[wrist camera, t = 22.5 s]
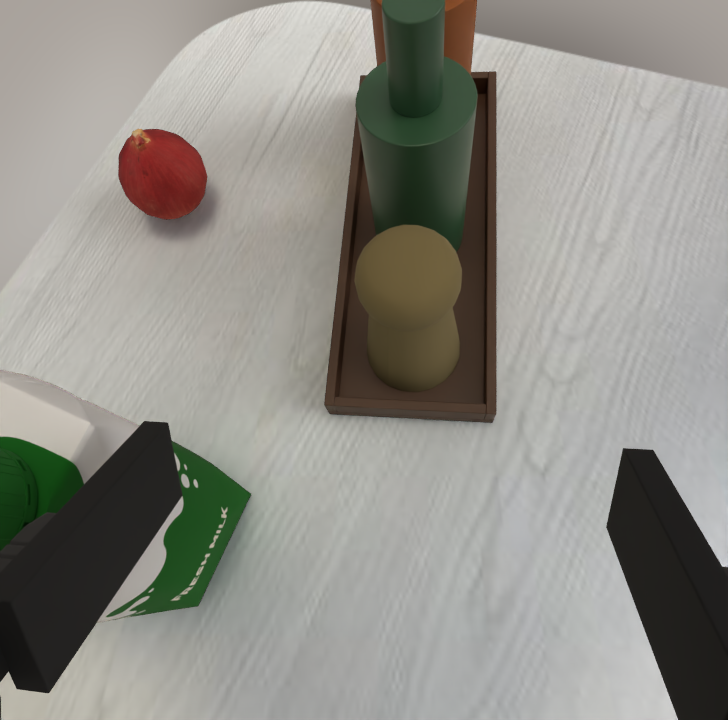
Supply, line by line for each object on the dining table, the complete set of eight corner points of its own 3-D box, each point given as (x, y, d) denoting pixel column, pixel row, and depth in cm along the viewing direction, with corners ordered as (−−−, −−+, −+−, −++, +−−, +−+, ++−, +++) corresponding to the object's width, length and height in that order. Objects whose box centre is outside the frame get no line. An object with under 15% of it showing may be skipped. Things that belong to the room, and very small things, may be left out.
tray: (493, 93, 42) (496, 71, 40) (492, 422, 34) (496, 414, 32) (363, 96, 44) (360, 75, 42) (329, 414, 35) (323, 405, 33)
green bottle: (463, 197, 39) (488, -55, 23) (461, 272, 37) (487, 52, 21) (379, 197, 39) (347, -47, 24) (373, 270, 37) (333, 57, 22)
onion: (136, 229, 42) (72, 156, 34) (170, 169, 43) (117, 88, 36) (201, 248, 40) (149, 178, 33) (234, 186, 42) (192, 106, 34)
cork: (417, 288, 37) (413, 181, 26) (480, 351, 35) (502, 262, 24) (347, 343, 36) (315, 255, 25) (407, 411, 34) (398, 346, 23)
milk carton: (204, 629, 31) (-126, 731, 13) (79, 563, 33) (-364, 566, 15) (271, 485, 34) (78, 391, 15) (150, 431, 36) (-151, 291, 17)
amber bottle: (466, 104, 42) (489, -178, 26) (464, 168, 40) (488, -94, 24) (387, 106, 42) (363, -167, 26) (382, 169, 40) (352, -85, 24)
